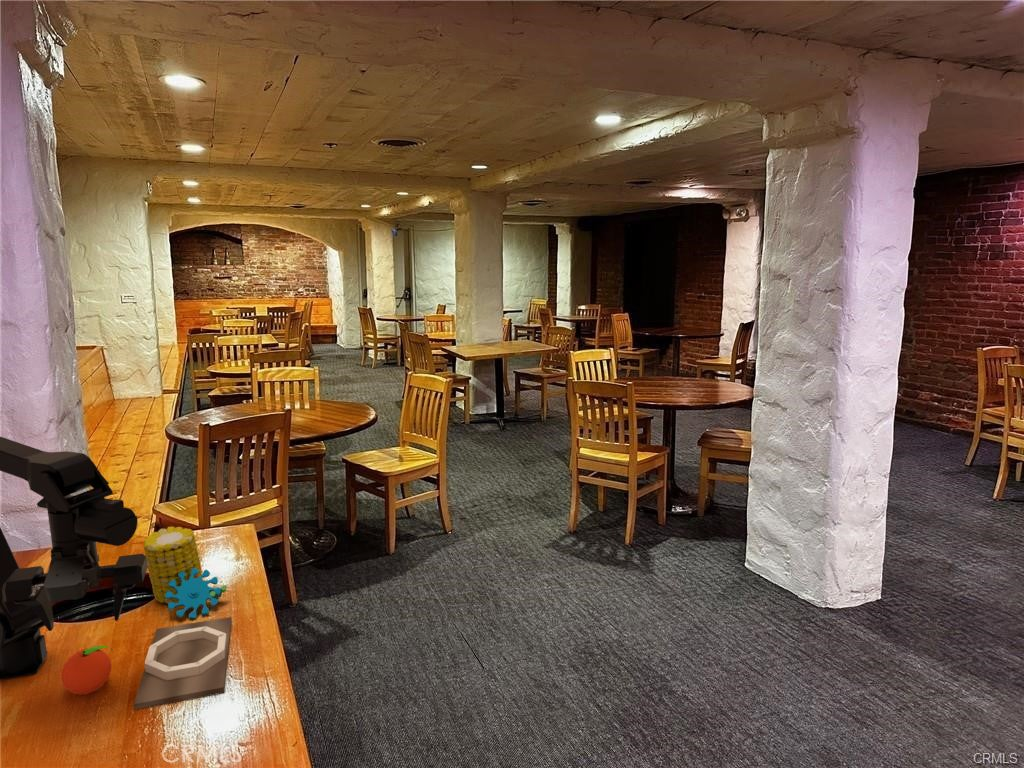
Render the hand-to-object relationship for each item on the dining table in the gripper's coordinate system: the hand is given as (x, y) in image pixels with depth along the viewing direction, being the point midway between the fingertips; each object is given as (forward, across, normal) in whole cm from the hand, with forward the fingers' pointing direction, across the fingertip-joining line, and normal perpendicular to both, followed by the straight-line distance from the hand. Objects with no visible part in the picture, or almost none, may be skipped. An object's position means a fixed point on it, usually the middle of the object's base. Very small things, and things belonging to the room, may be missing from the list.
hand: (84, 624), depth 107 cm
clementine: (+12, 0, 0) cm, 12 cm away
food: (+12, +10, +27) cm, 31 cm away
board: (+11, +14, +3) cm, 18 cm away
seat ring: (+11, +14, +3) cm, 18 cm away
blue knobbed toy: (+12, +14, +20) cm, 27 cm away
